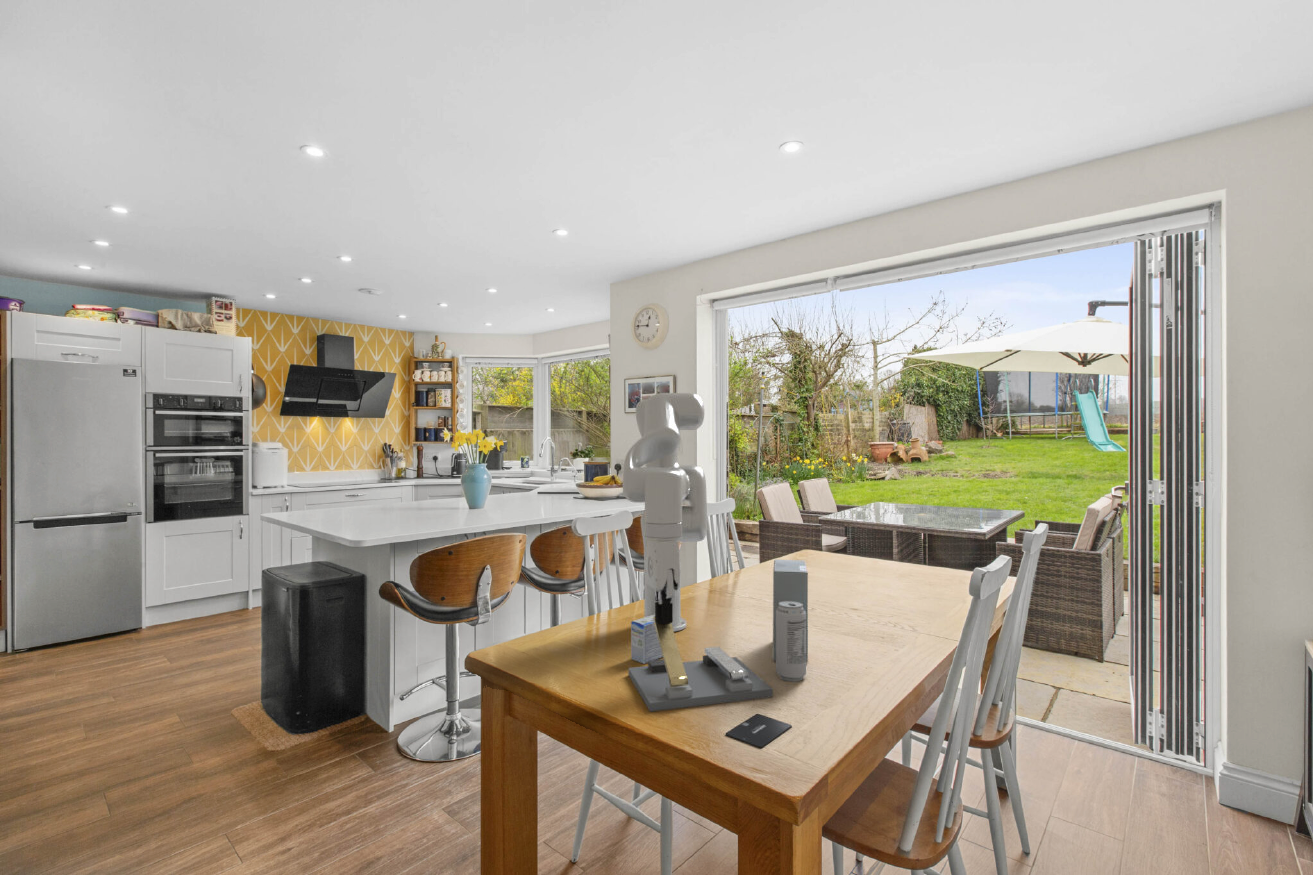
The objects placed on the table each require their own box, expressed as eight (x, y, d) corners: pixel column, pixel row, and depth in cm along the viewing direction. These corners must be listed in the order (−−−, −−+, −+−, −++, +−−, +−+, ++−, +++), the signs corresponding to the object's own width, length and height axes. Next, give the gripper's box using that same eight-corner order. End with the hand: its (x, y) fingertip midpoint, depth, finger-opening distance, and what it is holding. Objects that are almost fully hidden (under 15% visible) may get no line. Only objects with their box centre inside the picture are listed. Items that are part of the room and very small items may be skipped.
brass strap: (687, 687, 114) (688, 681, 113) (670, 688, 113) (672, 683, 112) (667, 618, 126) (668, 613, 125) (652, 620, 125) (653, 614, 125)
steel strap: (748, 679, 116) (748, 671, 116) (732, 681, 115) (732, 673, 115) (718, 652, 131) (718, 645, 132) (704, 653, 131) (704, 646, 131)
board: (628, 675, 127) (628, 661, 127) (736, 663, 134) (736, 650, 134) (650, 711, 110) (650, 695, 110) (772, 696, 116) (772, 681, 116)
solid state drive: (724, 737, 101) (724, 733, 101) (757, 716, 109) (757, 713, 109) (761, 751, 96) (761, 747, 96) (792, 729, 104) (792, 725, 104)
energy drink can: (795, 669, 130) (795, 599, 130) (812, 680, 124) (811, 605, 124) (770, 673, 128) (770, 601, 128) (786, 684, 122) (785, 608, 122)
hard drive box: (808, 664, 133) (807, 572, 133) (772, 662, 134) (772, 571, 135) (805, 641, 148) (805, 559, 148) (773, 640, 150) (773, 558, 150)
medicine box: (655, 651, 142) (655, 613, 142) (669, 655, 139) (669, 617, 139) (630, 659, 137) (630, 620, 137) (644, 664, 133) (644, 624, 134)
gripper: (636, 527, 130) (637, 614, 129) (654, 537, 115) (655, 635, 115) (670, 525, 132) (671, 611, 131) (692, 535, 117) (693, 631, 117)
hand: (663, 622), depth 123 cm, fingers closed
